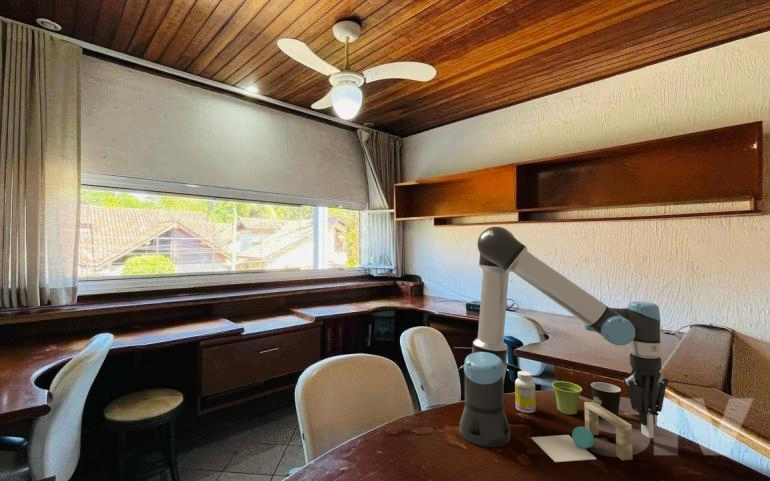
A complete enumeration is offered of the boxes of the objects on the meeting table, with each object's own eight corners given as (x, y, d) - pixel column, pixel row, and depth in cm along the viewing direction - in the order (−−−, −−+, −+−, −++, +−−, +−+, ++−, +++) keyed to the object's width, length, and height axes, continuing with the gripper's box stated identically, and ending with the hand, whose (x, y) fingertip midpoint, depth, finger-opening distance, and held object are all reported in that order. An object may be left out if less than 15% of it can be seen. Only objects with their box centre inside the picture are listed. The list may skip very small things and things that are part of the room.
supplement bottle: (517, 403, 126) (516, 368, 127) (536, 407, 123) (535, 371, 123) (513, 411, 121) (513, 374, 121) (534, 415, 117) (533, 377, 118)
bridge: (622, 460, 92) (621, 425, 92) (585, 432, 106) (584, 402, 107) (632, 459, 92) (631, 424, 92) (594, 431, 107) (593, 401, 107)
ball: (600, 450, 96) (582, 454, 95) (586, 439, 101) (569, 443, 101) (597, 430, 96) (579, 435, 95) (583, 420, 101) (566, 425, 101)
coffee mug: (626, 424, 111) (626, 393, 111) (597, 421, 113) (596, 391, 113) (610, 408, 122) (610, 380, 123) (584, 406, 124) (583, 378, 124)
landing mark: (555, 462, 91) (555, 461, 91) (531, 438, 103) (531, 437, 103) (596, 459, 92) (596, 458, 92) (568, 435, 104) (568, 434, 104)
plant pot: (583, 409, 122) (582, 384, 122) (582, 420, 114) (581, 393, 114) (554, 403, 127) (553, 379, 127) (551, 413, 119) (550, 388, 119)
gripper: (635, 359, 97) (638, 444, 96) (676, 357, 98) (679, 441, 98) (615, 351, 105) (617, 430, 104) (653, 350, 106) (656, 427, 105)
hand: (647, 435), depth 101 cm, fingers closed
